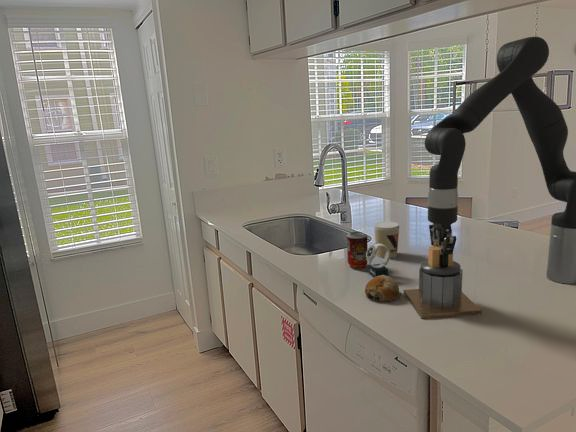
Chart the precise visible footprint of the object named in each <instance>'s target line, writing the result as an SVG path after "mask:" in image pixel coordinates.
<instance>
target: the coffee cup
mask: <svg viewBox="0 0 576 432" xmlns="http://www.w3.org/2000/svg"><path fill="white" fill-rule="evenodd" d="M373 229H374V244H378V243H379V244H383V245H385V246H386V247H387V248H388V249H389V250H390V255H391V256H390V259H393V258H396V257H397V256H398V248H399V247H398V246H399V234H400V225H399V223H398V222H395V221H378V222H376V223H374V226H373ZM386 252H387V250H386V248H385V247H383V246H380V247H379V248H378V250H377V254H376V257H379V258H382V259H384V258H385V255H386Z"/></svg>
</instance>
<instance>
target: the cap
mask: <svg viewBox="0 0 576 432" xmlns="http://www.w3.org/2000/svg"><path fill="white" fill-rule="evenodd" d="M439 256H440V253H439V246H434V247H433V246H428V259H425V260H423V261H421V262H420V267H421V270H423V271H424V272H426V273H429V274H433V275H444V276H445V275H454V274H457V273H459V272H460V268H461V264H460V263H458V262H457V261H454V253H453V254H449V255H448V267H445V268H441V267H440V266H439Z"/></svg>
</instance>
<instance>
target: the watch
mask: <svg viewBox="0 0 576 432" xmlns="http://www.w3.org/2000/svg"><path fill="white" fill-rule="evenodd" d="M380 246H383V247H385V248H386V250H387V252H386V255H385V258H382V259H383V260H382V261H381V263H377V264H376V263H375V264H372V262H373V260H374V259H375V258H376V257H377V255H376V254H377V250H378V248H379V247H380ZM390 256H391V255H390V250H389V249H388V248H387V247H386V246H385V245H383V244H379V243H378V244H375V243H374V244H372V245H370V246H368V247H367V252H366V259H367V264H368V267H369V269H368V270H369V271H368V273H369V275H370V276H371V277H372V279H373V278H374V277H376V276H380V275H385V276H389V269H388V268H387V267H386V266H387V265H388V264H389V261H390V259H391V258H390Z"/></svg>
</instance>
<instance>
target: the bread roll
mask: <svg viewBox="0 0 576 432" xmlns="http://www.w3.org/2000/svg"><path fill="white" fill-rule="evenodd" d="M364 294H365V297H367V298H369V300H371V301H374V302H380V303H384V302H385V303H386V302H392V301H394V300H397V299H398V298H399V297H400V287H399V285H398V284H397V282H396V281H395V280H394V278H392V277H390V276H389V275H388V276H385V275H380V276H376V277H374V278H373V277H372V278H371V279H370V280H369V281H368V282H367V283H366V285H365V290H364Z"/></svg>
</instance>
